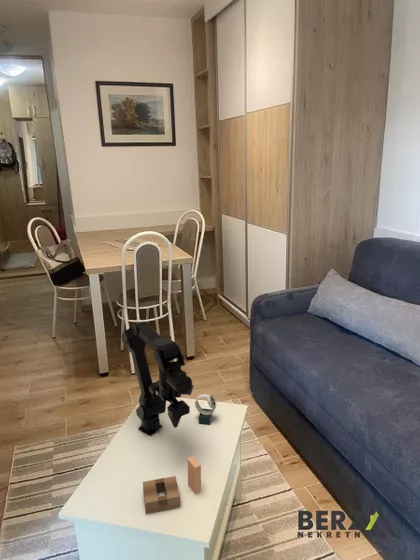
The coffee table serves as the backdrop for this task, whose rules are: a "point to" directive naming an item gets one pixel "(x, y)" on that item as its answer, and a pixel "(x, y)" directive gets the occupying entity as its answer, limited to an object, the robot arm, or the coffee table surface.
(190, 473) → the rectangular block
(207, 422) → the watch
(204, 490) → the coffee table surface
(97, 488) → the coffee table surface
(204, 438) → the coffee table surface
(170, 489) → the slot box
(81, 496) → the coffee table surface
